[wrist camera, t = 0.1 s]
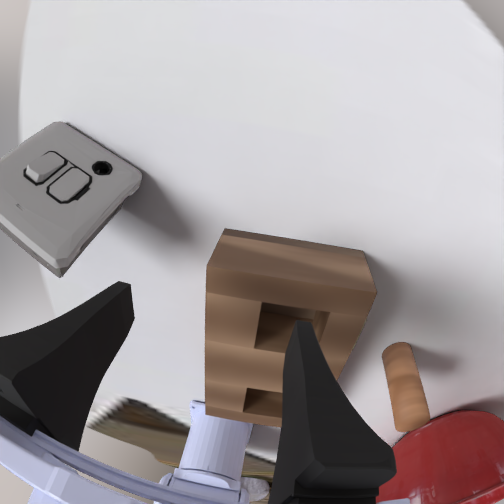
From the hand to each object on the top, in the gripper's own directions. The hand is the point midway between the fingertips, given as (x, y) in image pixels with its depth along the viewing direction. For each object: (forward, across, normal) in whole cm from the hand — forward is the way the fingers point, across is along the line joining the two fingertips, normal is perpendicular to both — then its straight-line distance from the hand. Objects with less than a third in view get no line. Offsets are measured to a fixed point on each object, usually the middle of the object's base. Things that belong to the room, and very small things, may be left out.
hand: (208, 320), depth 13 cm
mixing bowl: (+10, -34, +27) cm, 45 cm away
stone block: (+11, -8, +57) cm, 59 cm away
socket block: (+10, -4, +9) cm, 14 cm away
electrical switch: (+10, +12, -2) cm, 16 cm away
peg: (+10, -16, +10) cm, 21 cm away
